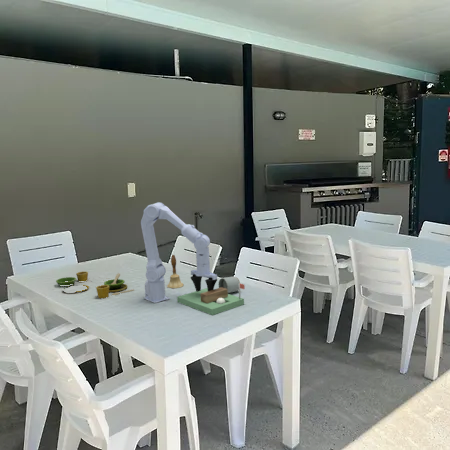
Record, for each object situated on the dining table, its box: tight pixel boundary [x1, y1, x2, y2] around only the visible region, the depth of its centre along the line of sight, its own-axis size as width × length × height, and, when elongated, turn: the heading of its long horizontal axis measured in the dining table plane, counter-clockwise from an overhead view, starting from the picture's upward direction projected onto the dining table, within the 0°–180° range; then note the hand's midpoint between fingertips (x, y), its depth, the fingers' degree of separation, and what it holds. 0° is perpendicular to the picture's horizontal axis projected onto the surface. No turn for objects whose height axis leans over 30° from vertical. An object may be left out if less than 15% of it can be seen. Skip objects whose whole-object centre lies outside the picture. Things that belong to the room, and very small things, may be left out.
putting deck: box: [176, 282, 246, 316], centre depth 192 cm, size 26×18×10 cm
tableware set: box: [55, 270, 135, 299], centre depth 222 cm, size 41×28×6 cm
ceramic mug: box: [218, 276, 241, 294], centre depth 209 cm, size 11×8×8 cm
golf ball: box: [216, 298, 225, 304], centre depth 188 cm, size 4×4×4 cm
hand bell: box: [166, 254, 184, 289], centre depth 220 cm, size 8×8×16 cm
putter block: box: [201, 287, 229, 303], centre depth 191 cm, size 4×12×4 cm, turn 132°
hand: (204, 292), depth 196 cm, fingers open, 7 cm apart
